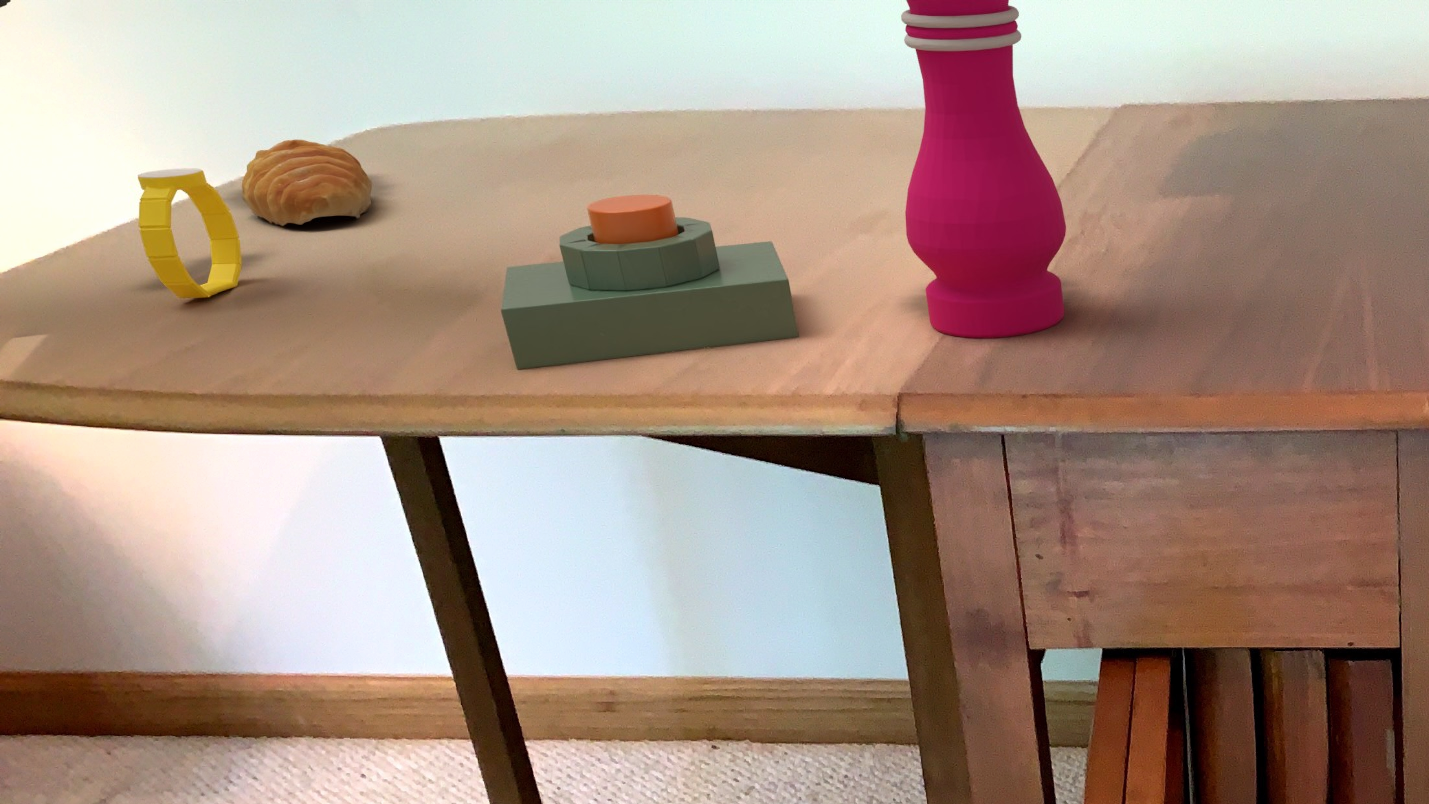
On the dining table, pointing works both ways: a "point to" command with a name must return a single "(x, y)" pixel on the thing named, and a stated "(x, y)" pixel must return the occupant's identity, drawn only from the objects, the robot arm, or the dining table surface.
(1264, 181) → the dining table surface
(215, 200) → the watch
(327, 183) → the pastry
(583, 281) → the control box
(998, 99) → the pepper mill
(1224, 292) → the dining table surface
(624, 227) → the button
